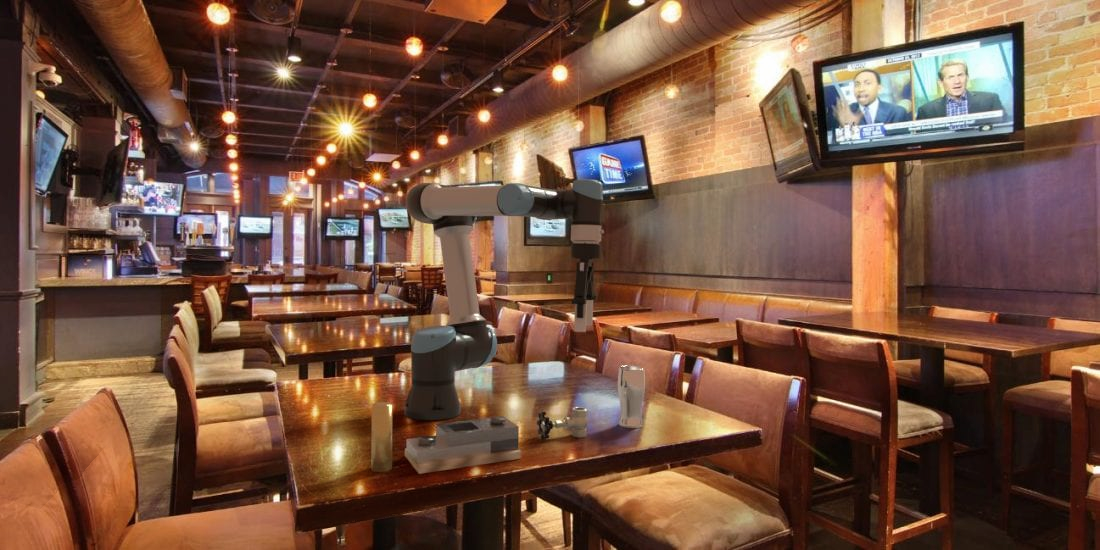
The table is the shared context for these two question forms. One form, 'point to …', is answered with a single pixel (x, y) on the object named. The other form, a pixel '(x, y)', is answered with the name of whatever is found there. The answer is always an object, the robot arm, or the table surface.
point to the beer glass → (631, 395)
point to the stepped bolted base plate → (465, 440)
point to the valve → (565, 423)
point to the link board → (463, 461)
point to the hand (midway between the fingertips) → (583, 328)
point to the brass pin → (381, 437)
